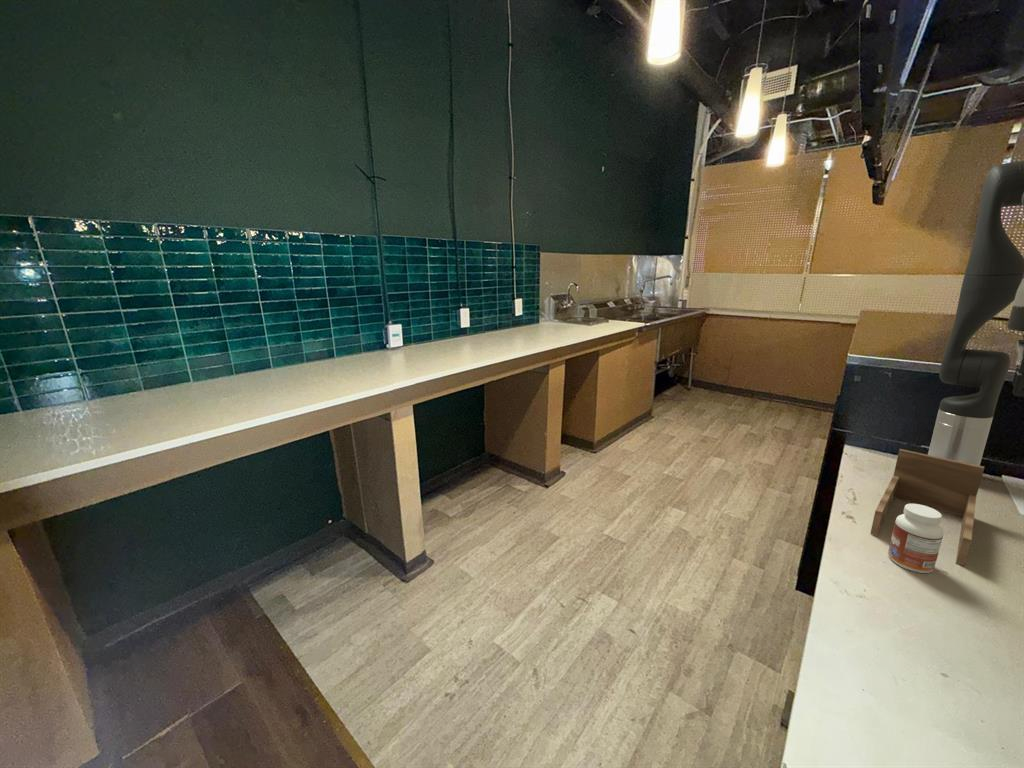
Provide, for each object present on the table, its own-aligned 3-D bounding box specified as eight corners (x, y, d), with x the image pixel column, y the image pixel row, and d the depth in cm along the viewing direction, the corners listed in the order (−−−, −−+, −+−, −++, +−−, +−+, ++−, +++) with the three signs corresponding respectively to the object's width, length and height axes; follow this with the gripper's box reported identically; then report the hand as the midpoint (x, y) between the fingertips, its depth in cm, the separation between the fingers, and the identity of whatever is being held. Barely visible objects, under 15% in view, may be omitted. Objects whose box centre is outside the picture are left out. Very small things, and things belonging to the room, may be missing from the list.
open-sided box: (889, 494, 96) (899, 448, 93) (970, 516, 86) (984, 466, 83) (870, 533, 82) (881, 481, 79) (963, 566, 72) (980, 508, 69)
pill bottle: (887, 547, 78) (899, 497, 75) (932, 561, 74) (946, 508, 71) (886, 564, 73) (899, 511, 71) (934, 579, 69) (949, 524, 67)
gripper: (1012, 301, 77) (990, 381, 81) (1013, 306, 69) (989, 395, 73) (1078, 302, 72) (1051, 387, 76) (1088, 307, 63) (1057, 403, 67)
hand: (1020, 391), depth 74 cm, fingers open, 8 cm apart
